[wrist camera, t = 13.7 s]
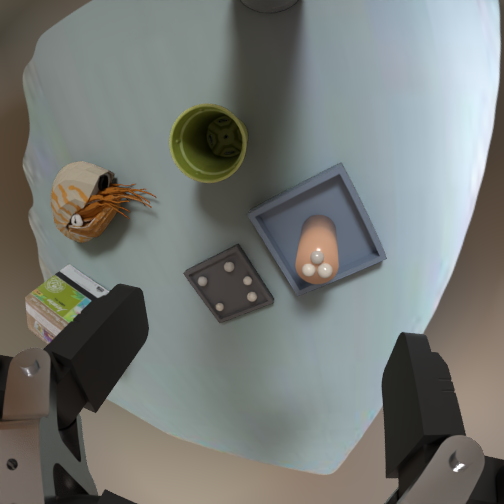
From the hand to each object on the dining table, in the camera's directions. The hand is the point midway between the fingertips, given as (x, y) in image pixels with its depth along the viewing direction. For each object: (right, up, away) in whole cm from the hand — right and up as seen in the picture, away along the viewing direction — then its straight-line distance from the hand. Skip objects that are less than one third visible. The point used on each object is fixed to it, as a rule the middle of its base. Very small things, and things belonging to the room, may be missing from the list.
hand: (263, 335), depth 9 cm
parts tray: (-4, -3, +44) cm, 44 cm away
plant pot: (-4, +19, +33) cm, 38 cm away
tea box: (-35, -7, +54) cm, 64 cm away
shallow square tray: (+9, +6, +36) cm, 38 cm away
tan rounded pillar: (+9, +5, +36) cm, 37 cm away
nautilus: (-25, +12, +42) cm, 50 cm away
